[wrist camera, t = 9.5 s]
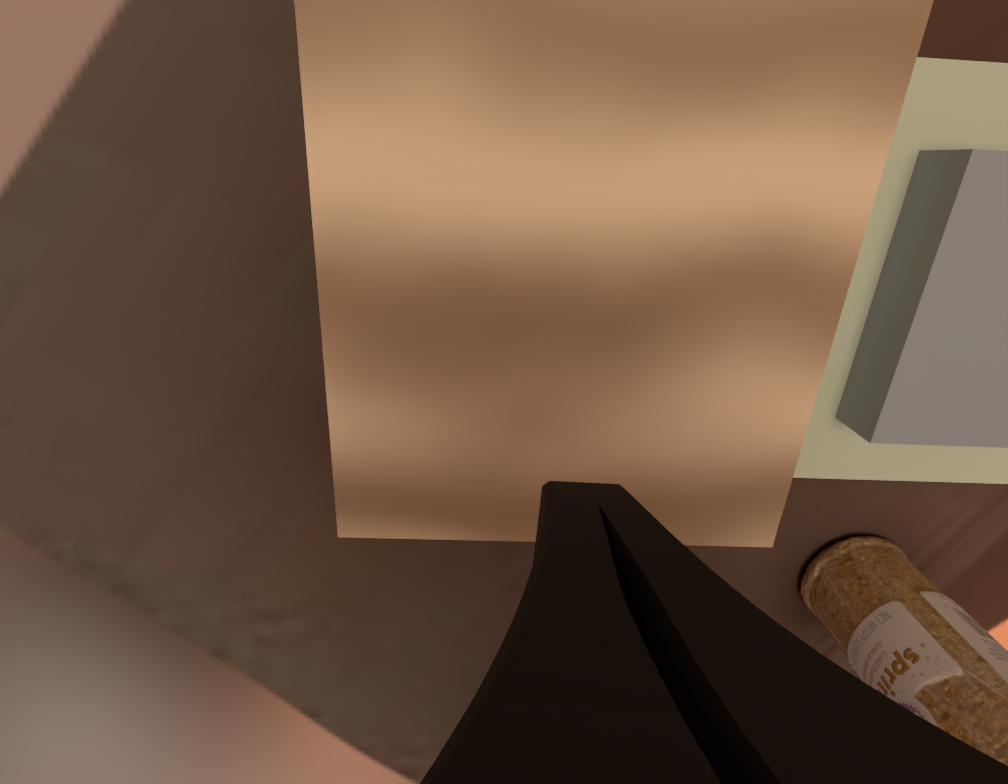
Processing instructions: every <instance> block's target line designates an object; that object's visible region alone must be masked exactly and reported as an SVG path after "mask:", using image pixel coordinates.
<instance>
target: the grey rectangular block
mask: <svg viewBox="0 0 1008 784" xmlns="http://www.w3.org/2000/svg"><path fill="white" fill-rule="evenodd" d="M835 418H837V419H838V420H839V421H841V422H842V423H843V424H845V425H846V426H847V427H849V428H850V429H852V430H853V431H854V432H856V433H857V434H858V435H860V436H861V437H862V438H864V439H865V440H866V441H868V442H869V443H877V444H907V445H937V446H967V447H997V448H1008V151H995V150H979V149H960V150H919V154H918V157H917V160H916V163H915V166H914V169H913V173H912V176H911V179H910V182H909V185H908V188H907V192H906V195H905V198H904V201H903V204H902V207H901V211H900V214H899V217H898V220H897V223H896V226H895V230H894V233H893V236H892V239H891V242H890V245H889V249H888V252H887V255H886V258H885V261H884V264H883V268H882V271H881V274H880V277H879V280H878V283H877V287H876V290H875V293H874V296H873V299H872V302H871V306H870V309H869V312H868V315H867V318H866V321H865V325H864V328H863V331H862V334H861V337H860V341H859V344H858V347H857V350H856V353H855V356H854V360H853V363H852V366H851V369H850V372H849V375H848V379H847V382H846V385H845V388H844V391H843V394H842V398H841V401H840V404H839V407H838V410H837V413H836V417H835Z"/></svg>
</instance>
